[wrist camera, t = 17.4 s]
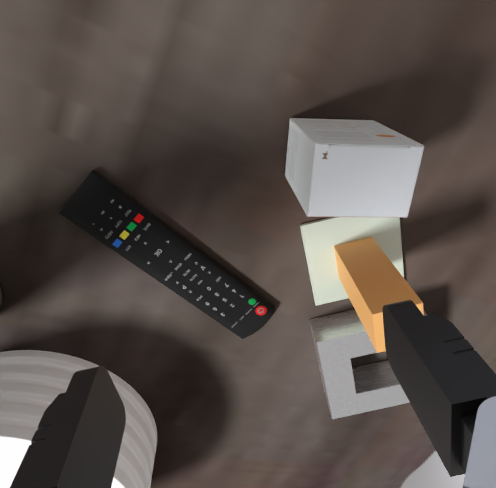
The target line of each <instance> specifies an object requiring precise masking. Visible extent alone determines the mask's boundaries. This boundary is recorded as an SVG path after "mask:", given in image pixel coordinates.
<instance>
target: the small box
mask: <svg viewBox="0 0 496 488" xmlns="http://www.w3.org/2000/svg"><path fill="white" fill-rule="evenodd" d="M423 151H424V145H422V144H420V143H418V142H416V141H414V140H412V139H410V138H408V137H406V136H404V135H402V134H400V133H398V132H396V131H394V130H392V129H390V128H388V127H386V126H384V125H382V124H380V123H378V122H376V121H374V120H345V119H308V118H290V122H289V134H288V146H287V157H286V169H285V177H286V179H287V181H288V182H289V184H290V186H291V188H292V190H293V191H294V193H295V195H296V197H297V199H298V201H299V202H300V204H301V206H302V208H303V210H304V211H305V213H306V215H307V216H308V217H393V218H407V217H408V213H409V209H410V205H411V201H412V196H413V192H414V188H415V184H416V180H417V176H418V171H419V167H420V163H421V159H422V155H423Z"/></svg>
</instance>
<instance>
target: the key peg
mask: <svg viewBox="0 0 496 488" xmlns="http://www.w3.org/2000/svg"><path fill="white" fill-rule="evenodd" d="M334 250H335V257H336V263H337V269H338V275H339V279H340V281H341V283H342V285H343V287H344V289H345V291H346V293H347V295H348V297H349V299H350V301H351V303H352V305H353V307H354V309H355V311H356V313H357V315H358V316H359V318H360V320H361V322H362V324H363V326H364V328H365V330H366V332H367V334H368V336H369V338H370V340H371V342H372V344H373V346H374V348H375V350H376V352H377V353H379V352H383V351H386V349H385V337H384V324H383V306H384V305H388V304H392V303H397V302H401V301H406V300H412V301H413V302H414V303H415V305H416V306H417V307H418V309H419V310H420V311H421V313H422V314H423V315H424V312H423V302H422V301H421V300H420V298H419V297H418V296H417V294H416V293H415V292H414V291H413V289H412V288H411V287H410V285H409V284H408V283H407V282H406V280H405V279H404V278H403V276H402V275H401V274H400V272H399V271H398V270H397V269H396V267H395V266H394V265H393V263H392V262H391V261H390V260H389V258H388V257H387V256H386V254H385V253H384V252H383V251H382V249H381V248H380V247H379V245H378V244H377V243H376V242H375V240H374V239H373V238H372V237H368V238H364V239H360V240H356V241H352V242H348V243H343V244H339V245H335V246H334Z"/></svg>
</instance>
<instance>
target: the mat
mask: <svg viewBox="0 0 496 488" xmlns="http://www.w3.org/2000/svg"><path fill="white" fill-rule="evenodd" d="M300 228H301V233H302V239H303V244H304V249H305V254H306V259H307V264H308V269H309V275H310V280H311V285H312V290H313V295H314V300H315V305H321V304H325V303H329V302H334V301H338V300H342V299H347V298H349V297H348V295H347V293H346V291H345V289H344V287H343V285H342V283H341V281H340V279H339V275H338V269H337V263H336V257H335V250H334V246H335V245H339V244H343V243H348V242H352V241H356V240H360V239H364V238H368V237H372V238H373V239H374V240H375V242H376V243H377V244H378V245H379V247H380V248H381V249H382V251H383V252H384V253H385V254H386V256H387V257H388V258H389V260H390V261H391V262H392V263H393V265H394V266H395V267H396V269H397V270H398V271H399V272H400V274H401V275H402V276H403V278H404V271H403V257H402V243H401V230H400V218H393V217H329V218H325V219H321V220H317V221H313V222H308V223H304V224H300Z"/></svg>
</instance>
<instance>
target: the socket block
mask: <svg viewBox="0 0 496 488" xmlns="http://www.w3.org/2000/svg"><path fill="white" fill-rule="evenodd" d="M423 312H424V316H426V315H427V314H426V312H425V311H424V310H423ZM310 325H311V330H312V335H313V340H314V345H315V350H316V354H317V359H318V364H319V369H320V374H321V379H322V383H323V388H324V393H325V397H326V400H327V403H328V407H329V410H330V413H331V416H332V419H336V418H340V417H345V416H350V415H354V414H359V413H363V412H368V411H373V410H377V409H382V408H386V407H391V406H395V405H400V404H405V403H409V400H408V398H407V396H406V394H405V392H404V391H403V389H402V387H401V385H400V383H399V382H398V380H397V378H396V376H395V374H394V372H393V370H392V368H391V366H390V364H389V361H388V360H386V361H381V362H377V363H372V364H368V365H363V366H359V367H354V368H352V365H351V358H355V357H359V356H364V355H368V354H373V353H377V352H376V350H375V348H374V346H373V344H372V342H371V340H370V338H369V336H368V334H367V332H366V330H365V328H364V326H363V324H362V322H361V320H360V318H359V316H358V315H357V313H356V311H355V309H353V310H349V311H344V312H340V313H336V314H331V315H327V316H323V317H318V318H314V319H310Z"/></svg>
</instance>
